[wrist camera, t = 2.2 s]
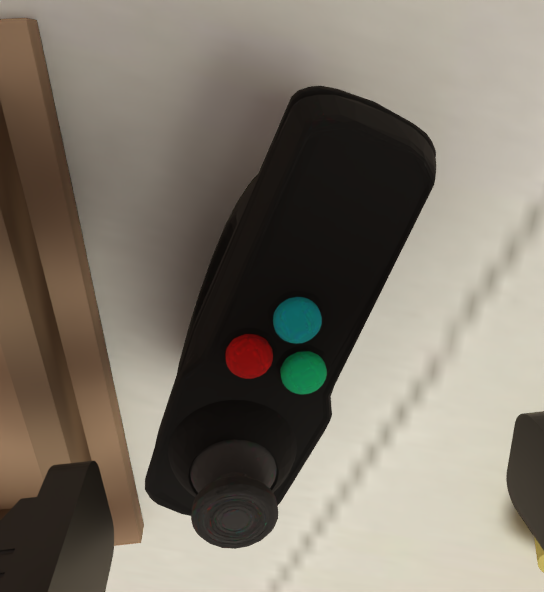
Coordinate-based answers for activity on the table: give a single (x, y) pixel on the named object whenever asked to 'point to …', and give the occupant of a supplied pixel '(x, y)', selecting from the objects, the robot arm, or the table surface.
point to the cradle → (49, 304)
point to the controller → (286, 309)
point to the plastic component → (539, 555)
